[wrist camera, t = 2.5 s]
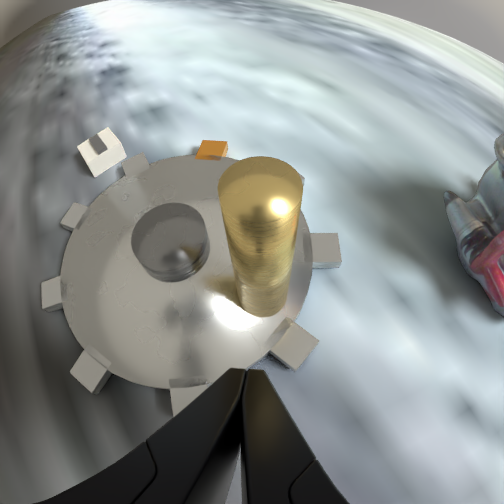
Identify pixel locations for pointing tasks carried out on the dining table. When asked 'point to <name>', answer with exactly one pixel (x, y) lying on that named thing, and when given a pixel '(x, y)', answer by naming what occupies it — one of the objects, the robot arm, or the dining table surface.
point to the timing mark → (102, 151)
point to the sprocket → (189, 272)
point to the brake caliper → (482, 229)
